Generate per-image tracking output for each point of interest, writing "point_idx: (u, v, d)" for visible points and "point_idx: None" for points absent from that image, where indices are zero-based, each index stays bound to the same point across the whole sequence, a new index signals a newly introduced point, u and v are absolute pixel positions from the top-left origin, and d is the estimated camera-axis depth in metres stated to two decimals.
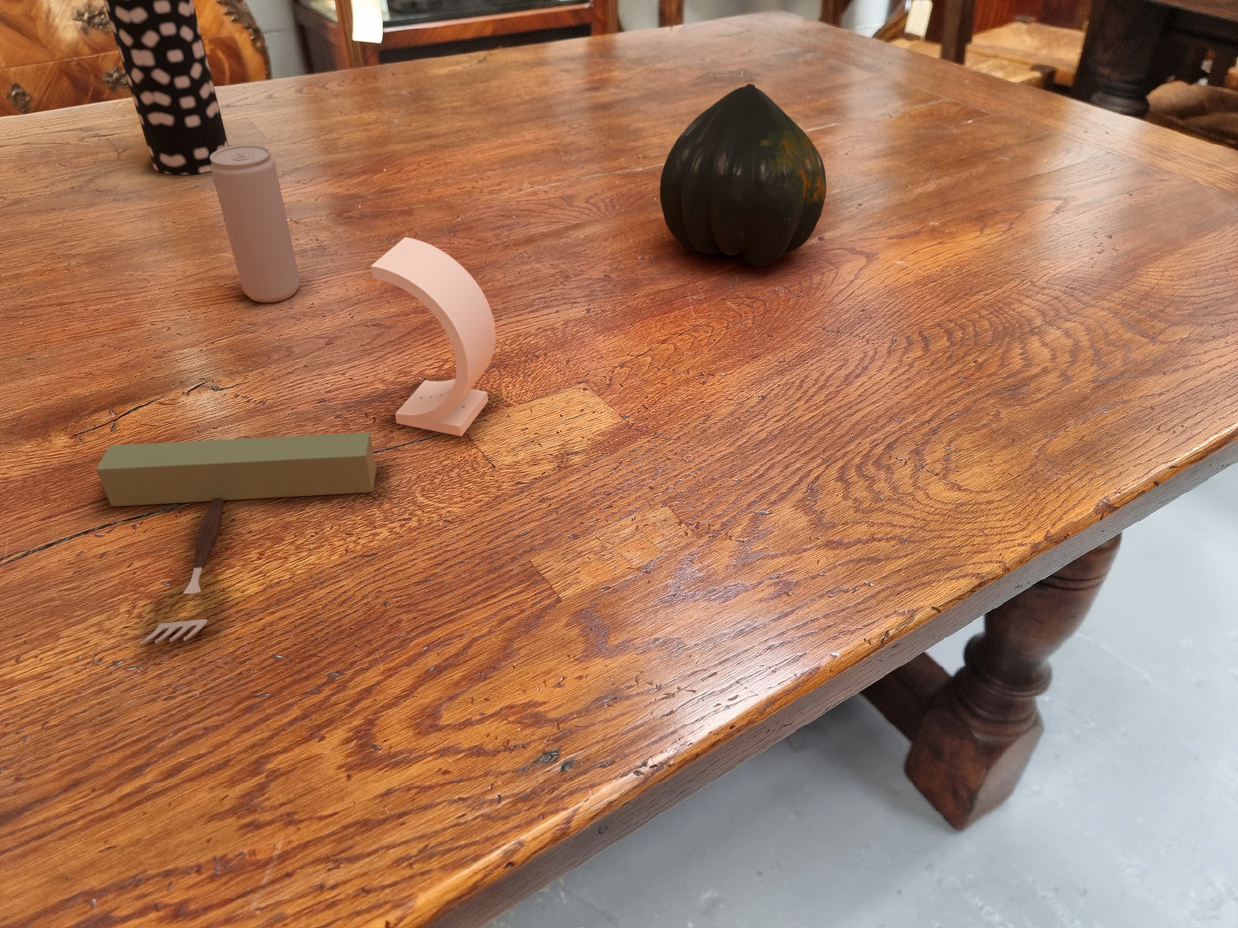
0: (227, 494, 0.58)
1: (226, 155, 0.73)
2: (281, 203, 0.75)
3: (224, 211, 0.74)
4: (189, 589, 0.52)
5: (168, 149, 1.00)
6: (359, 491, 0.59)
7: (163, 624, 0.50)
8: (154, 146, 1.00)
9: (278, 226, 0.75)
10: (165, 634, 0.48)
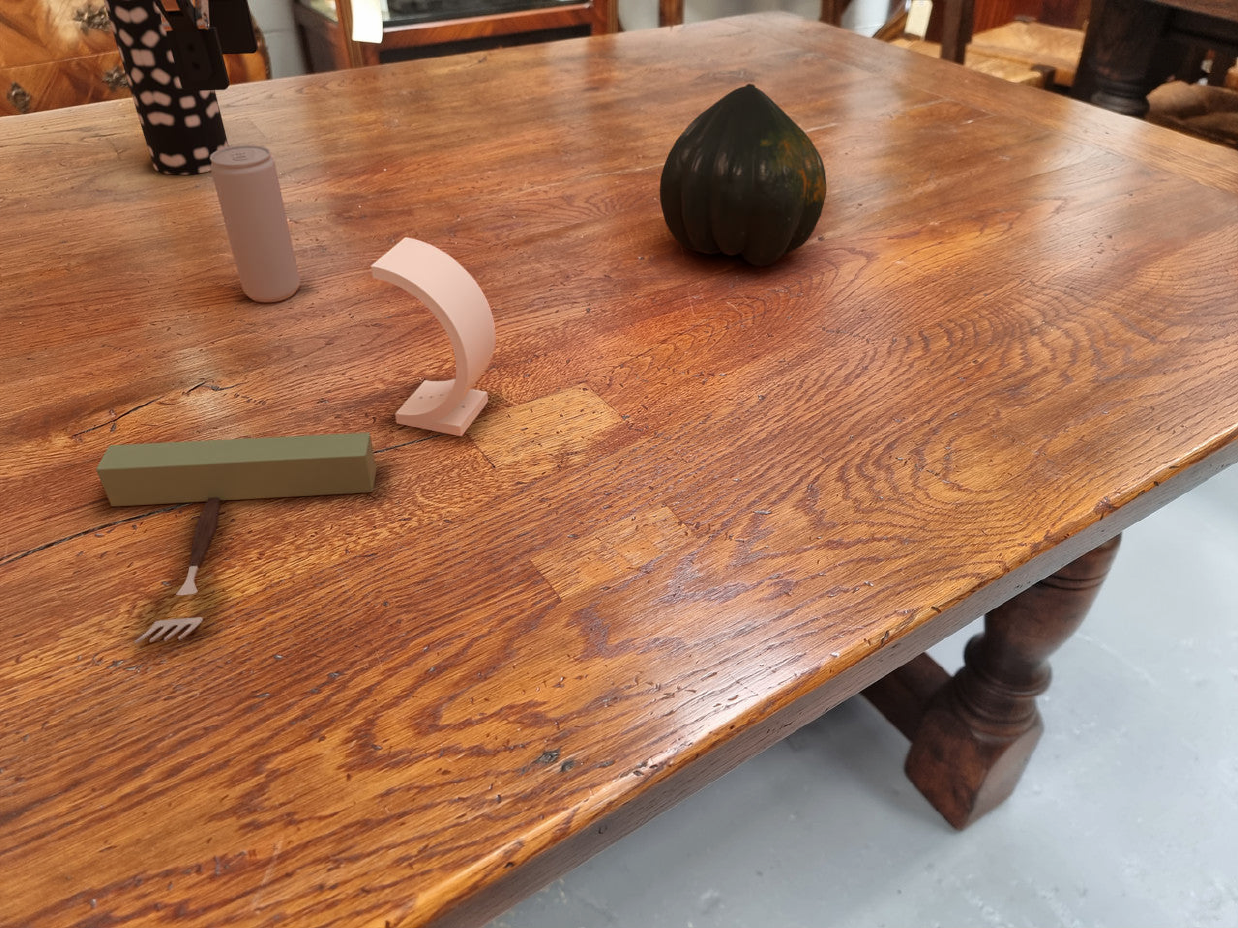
0: (227, 494, 0.58)
1: (226, 155, 0.73)
2: (281, 203, 0.75)
3: (224, 211, 0.74)
4: (184, 587, 0.52)
5: (168, 149, 1.00)
6: (359, 491, 0.59)
7: (158, 622, 0.50)
8: (154, 146, 1.00)
9: (278, 226, 0.75)
10: (160, 632, 0.48)
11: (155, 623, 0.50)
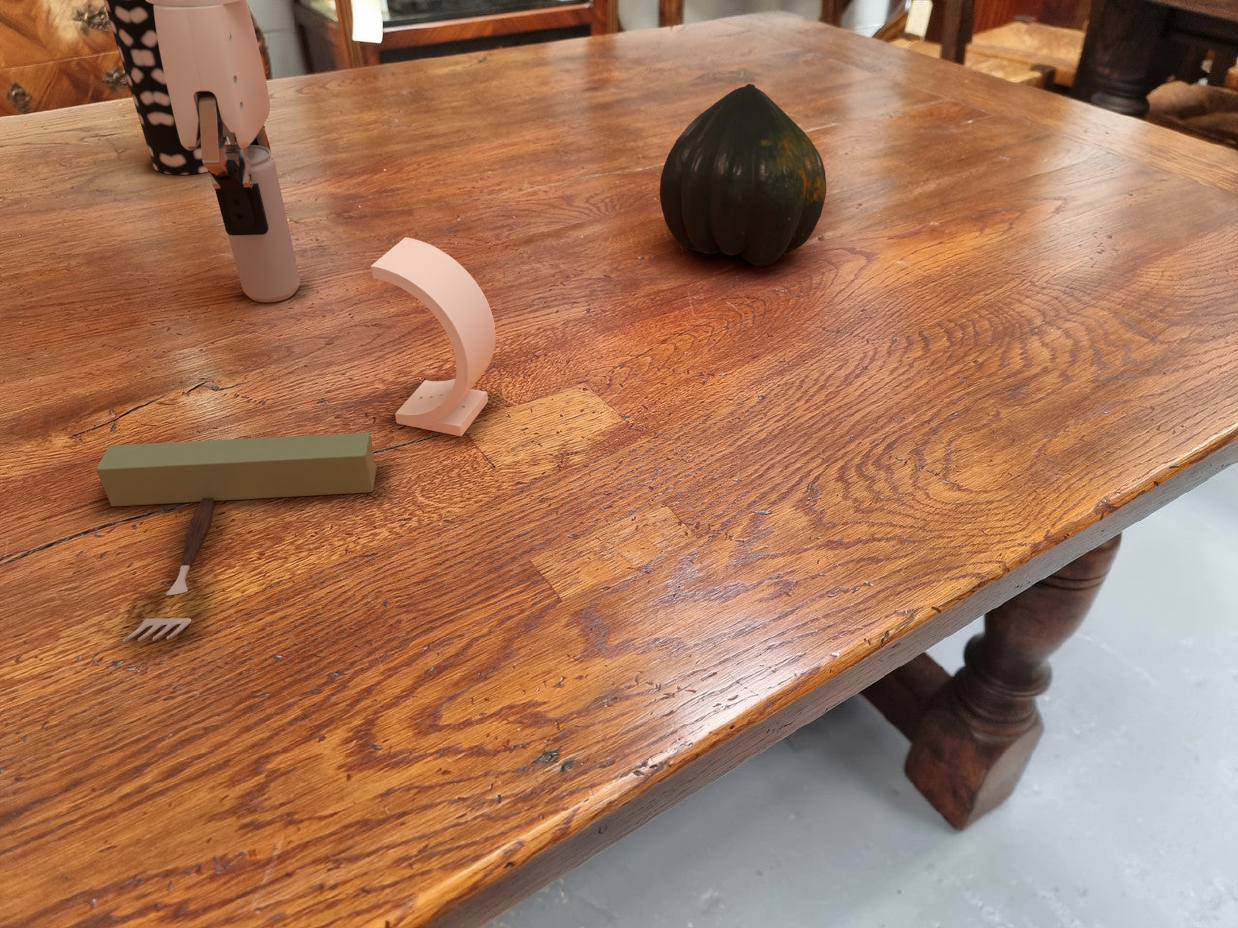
0: (227, 494, 0.58)
1: (226, 155, 0.73)
2: (281, 203, 0.75)
3: None
4: (175, 587, 0.52)
5: (168, 149, 1.00)
6: (359, 491, 0.59)
7: (147, 621, 0.50)
8: (154, 146, 1.00)
9: (278, 226, 0.75)
10: (149, 632, 0.48)
11: (144, 622, 0.50)
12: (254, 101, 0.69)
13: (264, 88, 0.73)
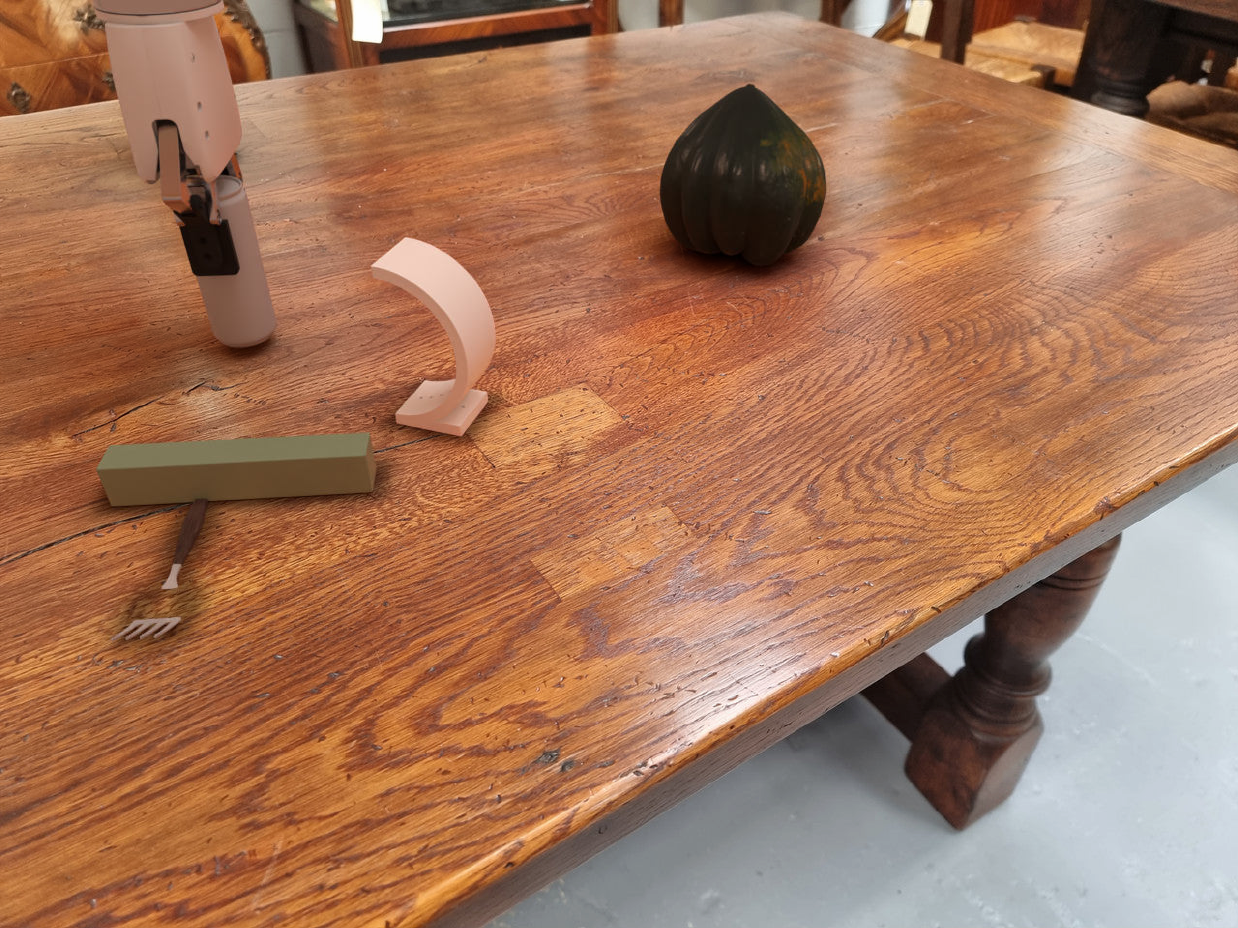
0: (227, 494, 0.58)
1: (192, 187, 0.65)
2: (254, 239, 0.68)
3: None
4: (166, 585, 0.52)
5: None
6: (359, 491, 0.59)
7: (138, 620, 0.50)
8: None
9: (251, 265, 0.68)
10: (137, 630, 0.48)
11: (135, 620, 0.50)
12: (222, 129, 0.62)
13: (234, 113, 0.65)
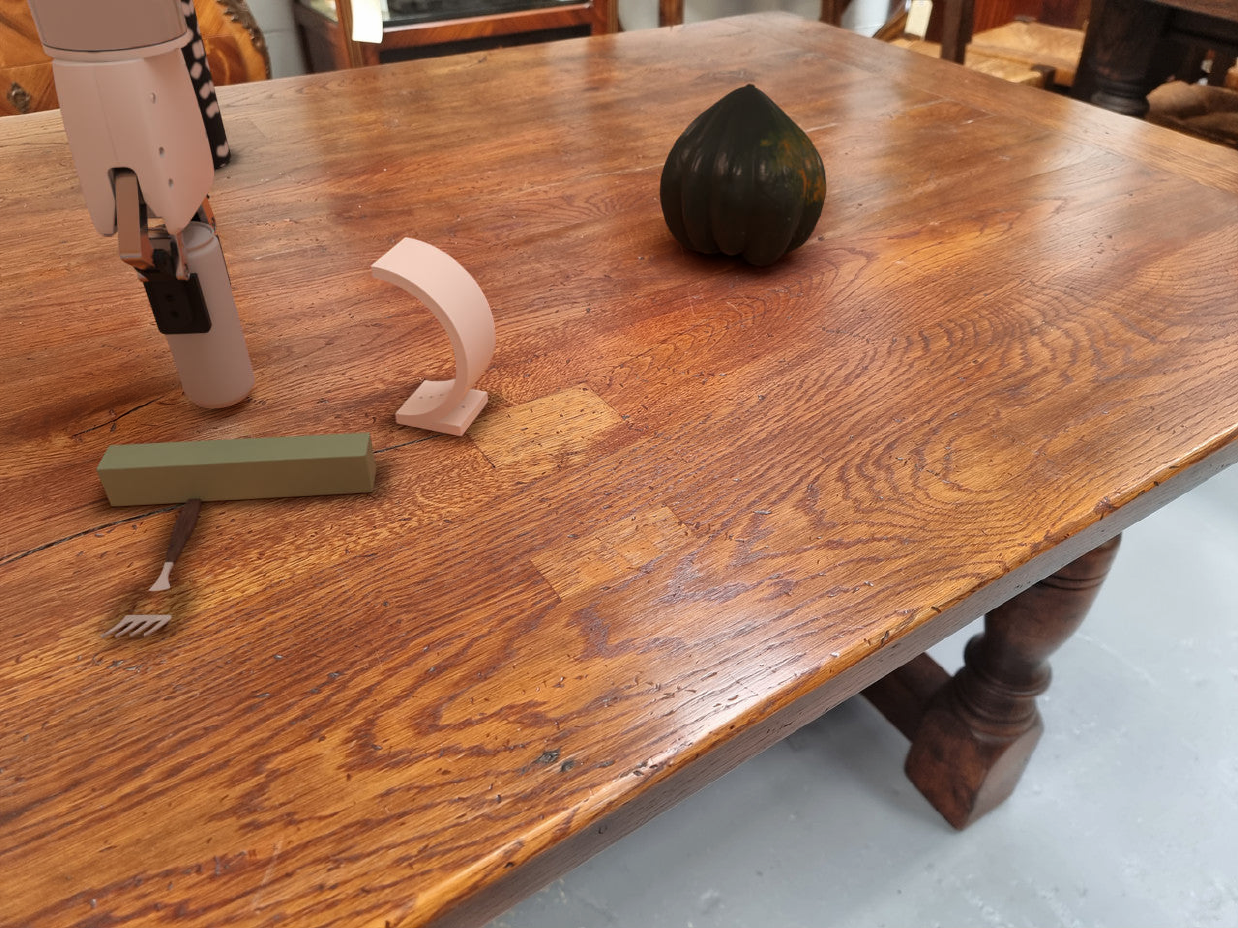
0: (227, 494, 0.58)
1: None
2: (228, 292, 0.61)
3: None
4: (157, 583, 0.52)
5: None
6: (359, 491, 0.59)
7: (128, 617, 0.50)
8: None
9: (225, 320, 0.61)
10: (127, 628, 0.48)
11: (125, 618, 0.50)
12: (190, 174, 0.55)
13: (205, 153, 0.59)
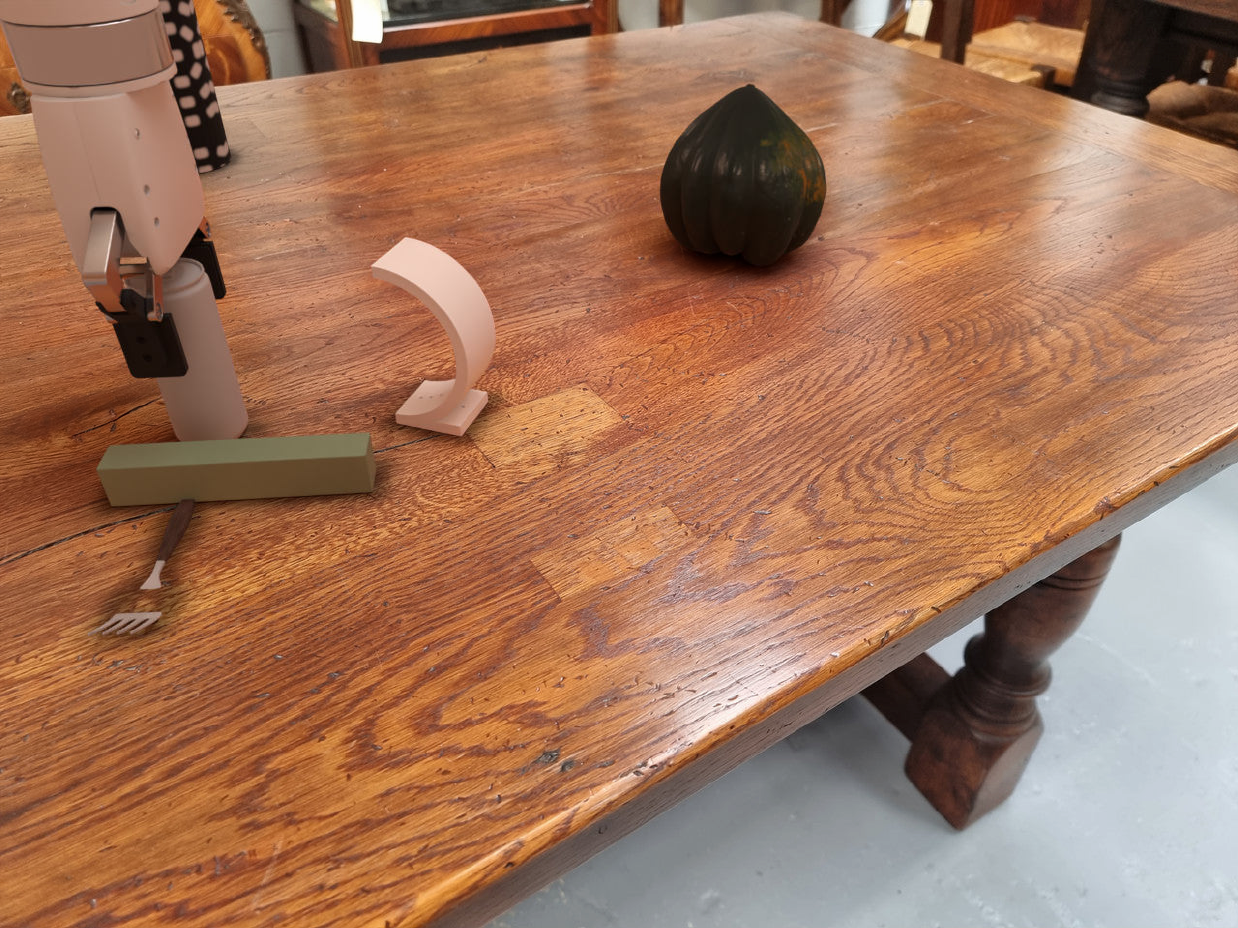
0: (227, 494, 0.58)
1: None
2: (220, 331, 0.59)
3: None
4: (148, 581, 0.52)
5: None
6: (359, 491, 0.59)
7: (118, 615, 0.50)
8: None
9: (216, 360, 0.59)
10: (115, 626, 0.49)
11: (115, 616, 0.50)
12: (177, 210, 0.53)
13: (195, 187, 0.56)
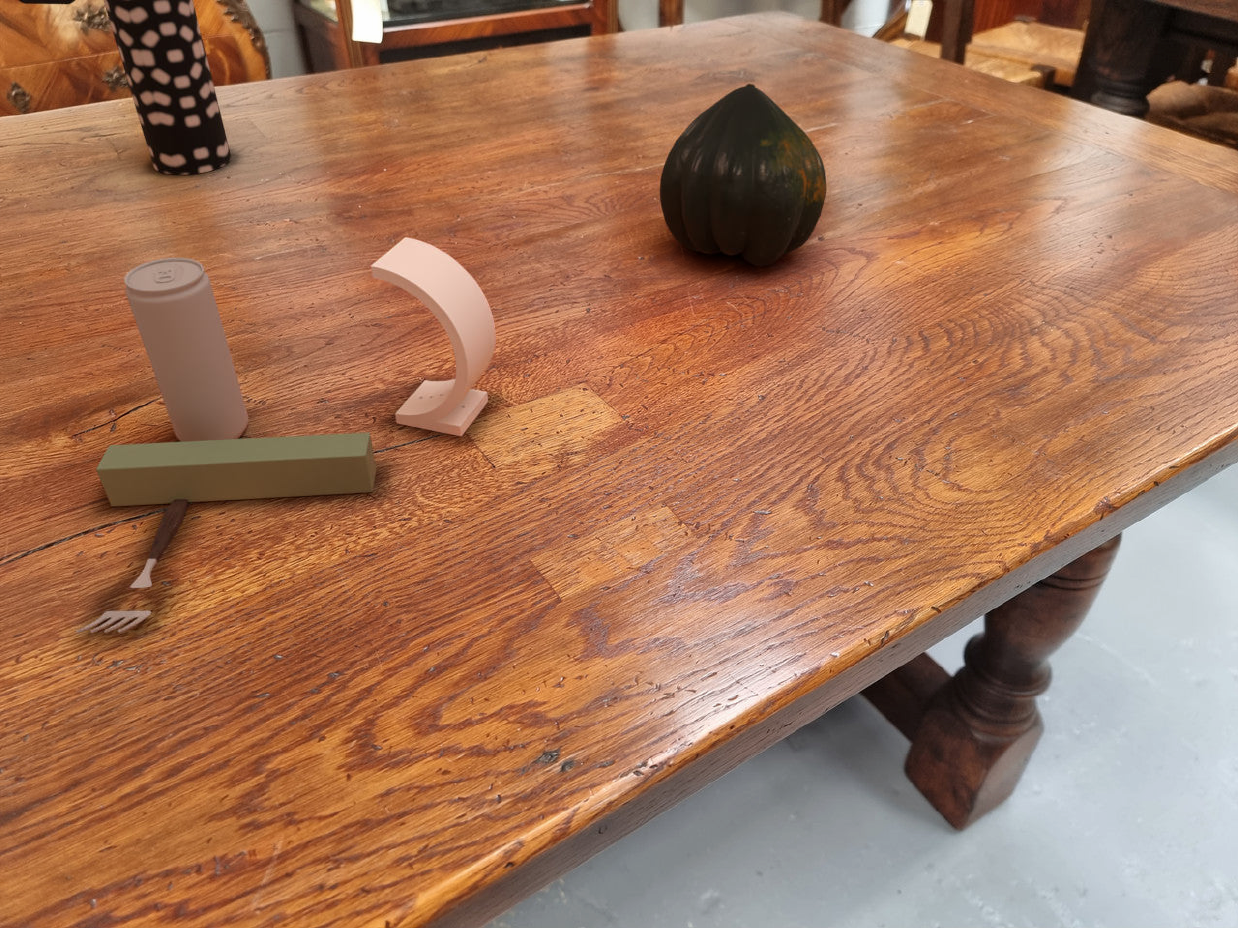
0: (227, 494, 0.58)
1: (145, 275, 0.56)
2: (220, 331, 0.59)
3: (145, 344, 0.57)
4: (139, 580, 0.52)
5: (168, 149, 1.00)
6: (359, 491, 0.59)
7: (107, 613, 0.50)
8: (154, 146, 1.00)
9: (216, 360, 0.59)
10: (104, 624, 0.49)
11: (104, 614, 0.50)
12: None
13: None
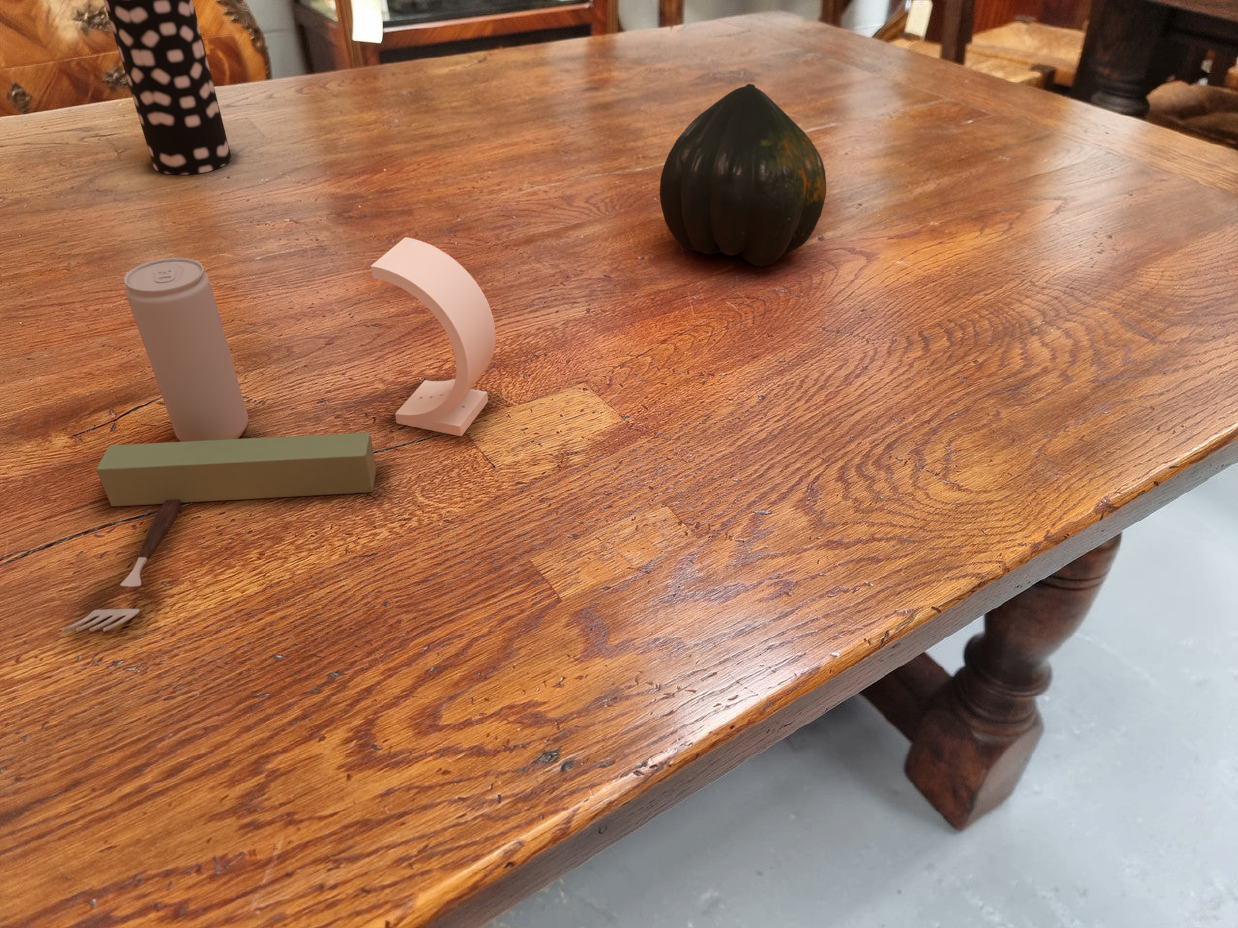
0: (227, 494, 0.58)
1: (145, 275, 0.56)
2: (220, 331, 0.59)
3: (145, 344, 0.58)
4: (129, 578, 0.52)
5: (168, 149, 1.00)
6: (359, 491, 0.59)
7: (95, 611, 0.50)
8: (154, 146, 1.00)
9: (216, 360, 0.59)
10: (91, 622, 0.49)
11: (92, 612, 0.50)
12: None
13: None
